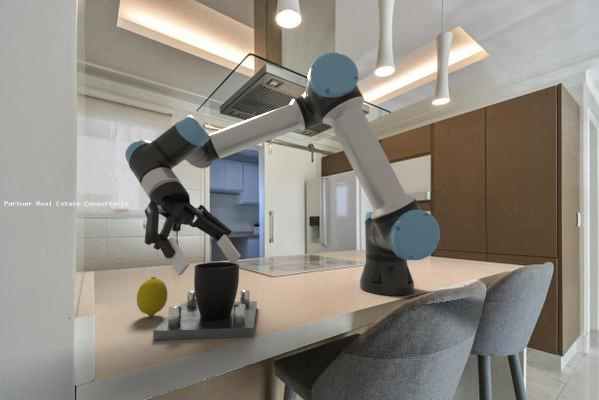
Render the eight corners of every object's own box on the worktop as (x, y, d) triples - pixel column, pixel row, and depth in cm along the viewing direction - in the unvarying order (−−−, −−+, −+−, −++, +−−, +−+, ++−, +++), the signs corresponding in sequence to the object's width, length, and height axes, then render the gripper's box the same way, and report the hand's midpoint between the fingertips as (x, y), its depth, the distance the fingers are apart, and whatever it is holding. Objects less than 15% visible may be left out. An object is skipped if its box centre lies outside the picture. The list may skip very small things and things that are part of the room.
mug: (228, 302, 62) (229, 258, 63) (243, 319, 51) (244, 266, 52) (188, 307, 58) (190, 260, 59) (195, 326, 47) (197, 269, 48)
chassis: (256, 307, 63) (257, 287, 63) (252, 336, 47) (253, 309, 47) (183, 309, 61) (183, 288, 61) (152, 340, 45) (154, 311, 46)
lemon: (161, 310, 61) (162, 273, 61) (170, 316, 57) (172, 276, 57) (132, 316, 57) (134, 276, 57) (140, 323, 53) (142, 280, 53)
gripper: (201, 207, 75) (243, 268, 67) (98, 200, 53) (142, 290, 45) (216, 186, 73) (262, 246, 65) (115, 170, 51) (165, 259, 43)
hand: (213, 264), depth 55 cm, fingers open, 13 cm apart
